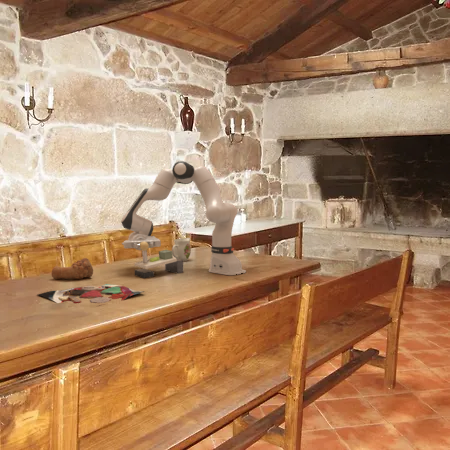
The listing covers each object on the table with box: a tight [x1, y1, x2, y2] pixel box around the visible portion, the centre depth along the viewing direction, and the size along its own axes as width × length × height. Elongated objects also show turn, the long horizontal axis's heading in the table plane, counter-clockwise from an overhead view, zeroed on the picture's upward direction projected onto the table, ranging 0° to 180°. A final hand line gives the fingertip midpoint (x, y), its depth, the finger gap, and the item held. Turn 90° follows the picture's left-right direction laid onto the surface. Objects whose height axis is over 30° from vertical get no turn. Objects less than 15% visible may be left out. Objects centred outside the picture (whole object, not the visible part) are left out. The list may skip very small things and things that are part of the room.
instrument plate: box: [133, 242, 177, 270], centre depth 257 cm, size 20×12×14 cm, turn 132°
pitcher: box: [171, 237, 192, 262], centre depth 300 cm, size 11×18×14 cm, turn 148°
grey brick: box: [134, 259, 184, 279], centre depth 260 cm, size 12×25×7 cm, turn 132°
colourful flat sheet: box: [36, 283, 146, 307], centre depth 213 cm, size 35×35×2 cm
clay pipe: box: [51, 257, 94, 280], centre depth 247 cm, size 19×11×15 cm
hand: (144, 245), depth 252 cm, fingers open, 5 cm apart
